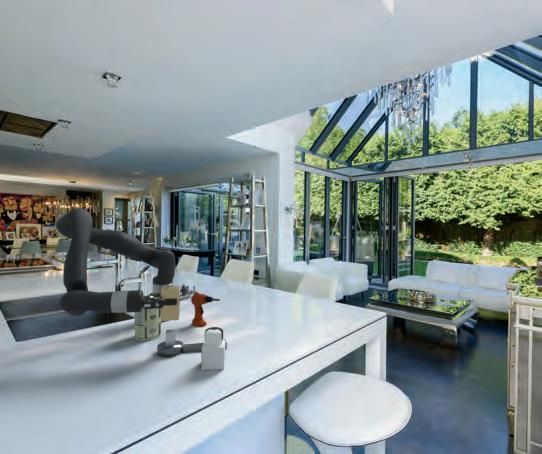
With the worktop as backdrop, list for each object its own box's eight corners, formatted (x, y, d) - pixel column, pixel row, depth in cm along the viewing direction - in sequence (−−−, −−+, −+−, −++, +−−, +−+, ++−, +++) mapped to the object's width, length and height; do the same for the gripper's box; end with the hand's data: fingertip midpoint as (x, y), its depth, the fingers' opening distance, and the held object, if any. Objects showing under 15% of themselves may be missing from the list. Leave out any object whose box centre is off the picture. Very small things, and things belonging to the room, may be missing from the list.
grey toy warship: (183, 292, 203) (158, 303, 187) (182, 282, 202) (157, 292, 186) (199, 295, 196) (174, 307, 180) (198, 285, 195) (173, 296, 178)
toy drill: (217, 329, 131) (214, 294, 132) (189, 325, 142) (187, 293, 143) (225, 326, 134) (222, 292, 135) (198, 323, 146) (195, 291, 147)
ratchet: (155, 358, 106) (155, 336, 106) (158, 347, 115) (158, 327, 115) (227, 352, 112) (227, 331, 112) (225, 342, 120) (225, 323, 120)
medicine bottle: (204, 360, 105) (204, 325, 105) (225, 360, 105) (225, 324, 105) (201, 370, 98) (201, 332, 98) (223, 369, 98) (224, 332, 98)
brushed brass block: (160, 320, 108) (160, 289, 108) (162, 315, 114) (162, 285, 113) (178, 319, 109) (178, 288, 109) (179, 315, 115) (180, 285, 115)
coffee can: (146, 330, 133) (146, 297, 133) (166, 333, 130) (166, 300, 130) (128, 338, 123) (128, 303, 123) (149, 342, 120) (149, 306, 120)
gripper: (122, 295, 101) (176, 293, 105) (132, 286, 115) (179, 285, 119) (122, 318, 101) (176, 315, 105) (131, 306, 115) (179, 304, 119)
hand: (177, 299), depth 112 cm, fingers closed on brushed brass block, 6 cm apart
